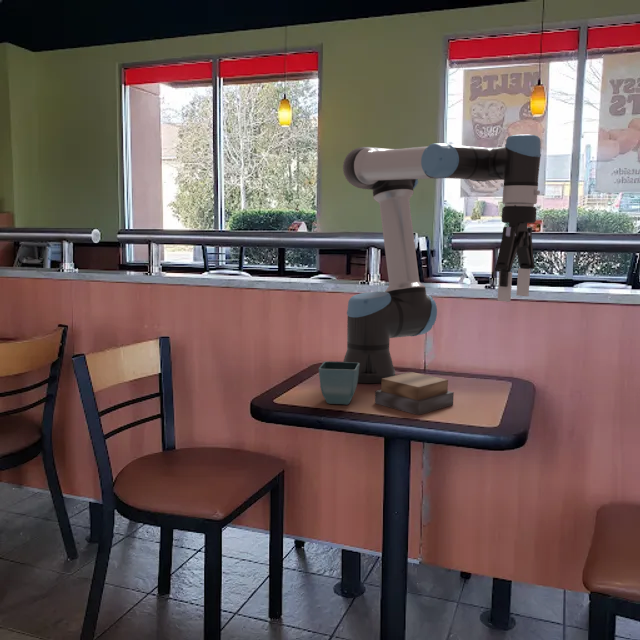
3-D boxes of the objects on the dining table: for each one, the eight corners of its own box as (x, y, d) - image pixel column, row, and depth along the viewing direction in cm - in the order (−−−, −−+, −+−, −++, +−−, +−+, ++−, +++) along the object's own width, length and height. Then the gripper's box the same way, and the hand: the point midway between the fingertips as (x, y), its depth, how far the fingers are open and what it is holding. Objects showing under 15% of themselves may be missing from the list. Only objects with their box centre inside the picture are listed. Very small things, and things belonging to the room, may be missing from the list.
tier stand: (374, 403, 153) (375, 378, 153) (410, 394, 162) (410, 370, 161) (418, 415, 144) (419, 388, 143) (453, 404, 153) (454, 379, 152)
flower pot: (323, 396, 159) (324, 360, 158) (359, 398, 158) (360, 362, 157) (317, 406, 151) (318, 368, 150) (355, 408, 149) (356, 369, 148)
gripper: (518, 204, 135) (512, 305, 138) (551, 206, 155) (544, 294, 159) (484, 204, 139) (478, 302, 143) (519, 206, 160) (514, 292, 163)
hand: (513, 298), depth 151 cm, fingers open, 13 cm apart
